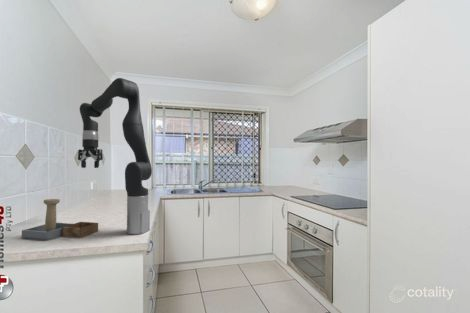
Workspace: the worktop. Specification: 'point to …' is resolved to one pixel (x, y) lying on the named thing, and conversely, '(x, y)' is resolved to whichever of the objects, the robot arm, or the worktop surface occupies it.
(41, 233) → the tray
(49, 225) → the handle
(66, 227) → the brown wooden box
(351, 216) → the worktop surface
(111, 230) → the worktop surface
